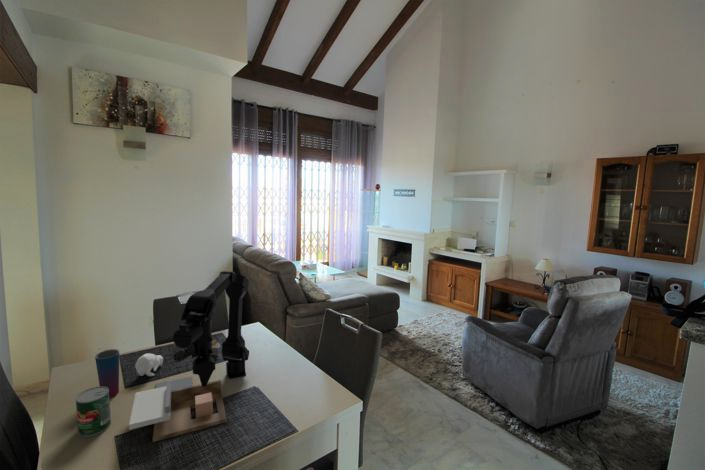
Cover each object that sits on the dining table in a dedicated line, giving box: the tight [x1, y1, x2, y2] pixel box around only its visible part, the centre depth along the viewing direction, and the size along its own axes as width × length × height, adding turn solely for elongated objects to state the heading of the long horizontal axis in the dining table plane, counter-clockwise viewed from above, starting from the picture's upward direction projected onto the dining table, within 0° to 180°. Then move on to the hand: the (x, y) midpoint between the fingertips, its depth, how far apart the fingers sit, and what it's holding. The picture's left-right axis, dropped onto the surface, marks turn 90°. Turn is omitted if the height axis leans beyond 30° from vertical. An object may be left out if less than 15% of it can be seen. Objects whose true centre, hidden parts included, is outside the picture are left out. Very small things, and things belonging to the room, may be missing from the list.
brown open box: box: [152, 379, 227, 443], centre depth 107 cm, size 20×16×6 cm
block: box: [194, 393, 214, 419], centre depth 109 cm, size 5×5×5 cm
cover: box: [128, 382, 171, 431], centre depth 102 cm, size 10×16×4 cm, turn 27°
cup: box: [94, 348, 120, 399], centre depth 117 cm, size 7×7×15 cm
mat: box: [155, 375, 193, 390], centre depth 121 cm, size 12×12×1 cm
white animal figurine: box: [134, 353, 164, 377], centre depth 132 cm, size 6×8×12 cm
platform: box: [210, 339, 221, 357], centre depth 148 cm, size 12×18×7 cm, turn 78°
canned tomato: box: [75, 386, 112, 438], centre depth 100 cm, size 8×8×11 cm
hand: (203, 379), depth 108 cm, fingers open, 9 cm apart
